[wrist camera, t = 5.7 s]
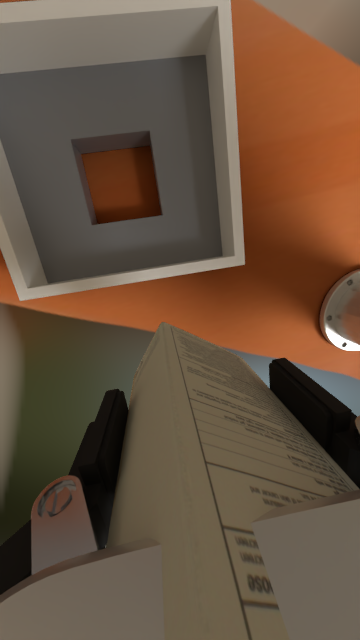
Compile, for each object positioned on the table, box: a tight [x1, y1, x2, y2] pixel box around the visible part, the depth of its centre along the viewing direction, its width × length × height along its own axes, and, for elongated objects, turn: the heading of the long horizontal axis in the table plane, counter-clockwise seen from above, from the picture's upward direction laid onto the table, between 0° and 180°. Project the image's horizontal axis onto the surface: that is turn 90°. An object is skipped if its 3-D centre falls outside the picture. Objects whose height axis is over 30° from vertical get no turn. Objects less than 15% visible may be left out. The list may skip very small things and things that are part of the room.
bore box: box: [0, 0, 245, 301], centre depth 21 cm, size 22×20×7 cm
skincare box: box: [106, 322, 360, 640], centre depth 8 cm, size 6×4×12 cm
